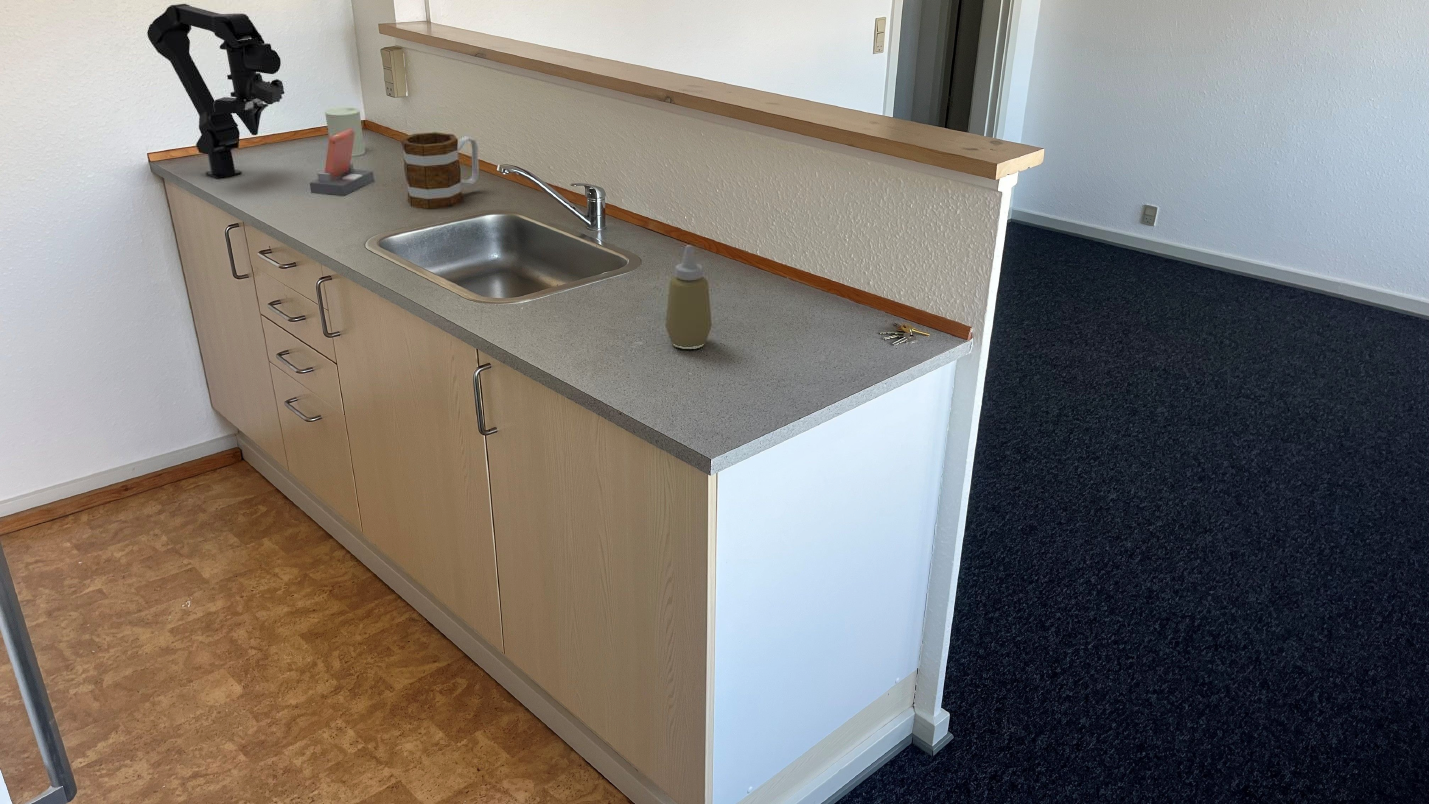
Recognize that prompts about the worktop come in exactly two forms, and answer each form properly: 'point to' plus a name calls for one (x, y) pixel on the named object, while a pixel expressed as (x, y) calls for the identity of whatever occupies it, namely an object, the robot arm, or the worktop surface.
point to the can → (346, 126)
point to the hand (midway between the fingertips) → (254, 134)
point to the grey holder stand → (341, 182)
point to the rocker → (339, 153)
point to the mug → (436, 169)
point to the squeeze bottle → (688, 303)
